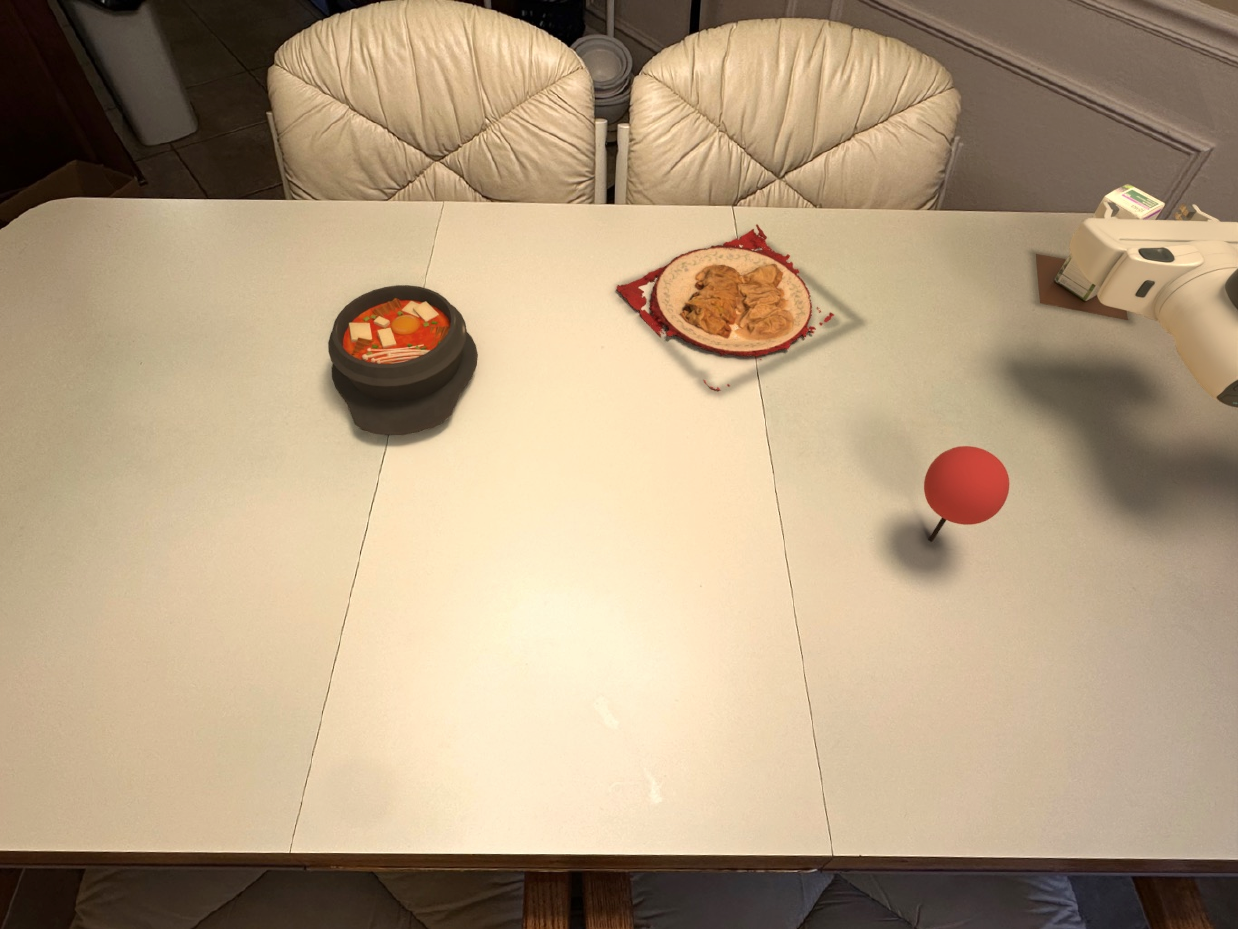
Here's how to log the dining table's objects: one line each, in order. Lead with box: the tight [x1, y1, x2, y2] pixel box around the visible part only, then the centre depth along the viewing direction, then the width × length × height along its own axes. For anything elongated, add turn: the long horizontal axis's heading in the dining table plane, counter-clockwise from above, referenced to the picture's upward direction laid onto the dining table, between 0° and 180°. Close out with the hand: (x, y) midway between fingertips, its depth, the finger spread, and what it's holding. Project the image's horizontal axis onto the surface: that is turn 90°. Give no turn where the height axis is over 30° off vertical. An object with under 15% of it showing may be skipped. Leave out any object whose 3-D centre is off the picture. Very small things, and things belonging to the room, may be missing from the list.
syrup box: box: [1054, 183, 1166, 301], centre depth 104 cm, size 6×6×14 cm
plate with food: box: [616, 223, 835, 391], centre depth 105 cm, size 24×26×4 cm
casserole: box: [327, 284, 479, 436], centre depth 94 cm, size 25×19×8 cm
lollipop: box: [923, 445, 1010, 543], centre depth 77 cm, size 8×8×15 cm
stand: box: [1035, 253, 1129, 321], centre depth 110 cm, size 12×12×1 cm
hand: (1143, 208), depth 88 cm, fingers open, 8 cm apart
